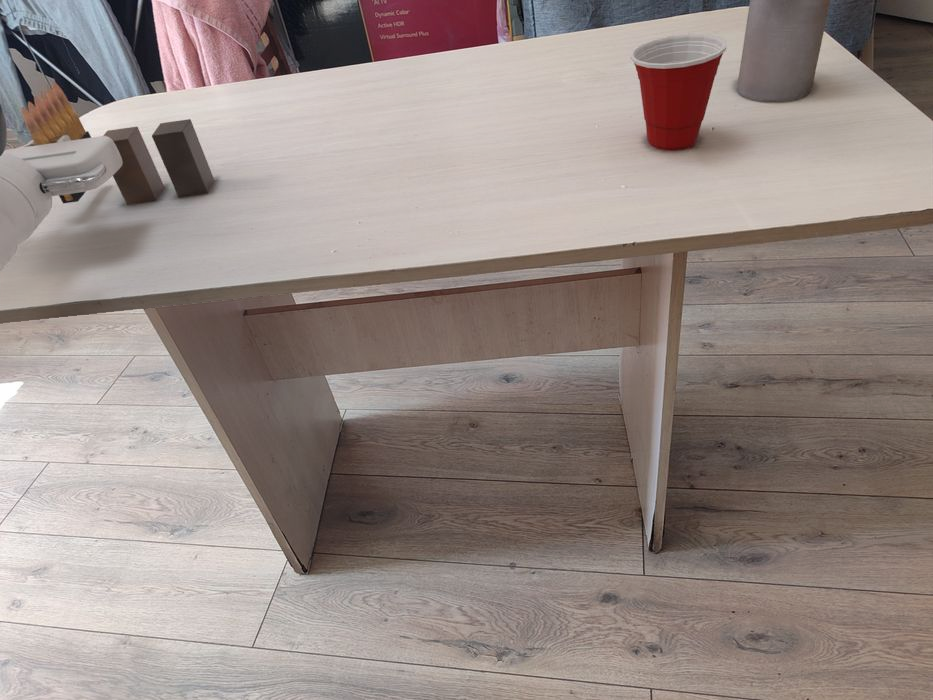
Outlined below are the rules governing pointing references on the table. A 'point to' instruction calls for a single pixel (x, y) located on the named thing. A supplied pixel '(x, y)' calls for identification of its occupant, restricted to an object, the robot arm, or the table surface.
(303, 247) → the table surface
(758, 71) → the pillar candle
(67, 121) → the ammunition clip
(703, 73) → the plastic cup
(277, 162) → the table surface
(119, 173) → the walnut block
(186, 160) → the dark gray block
